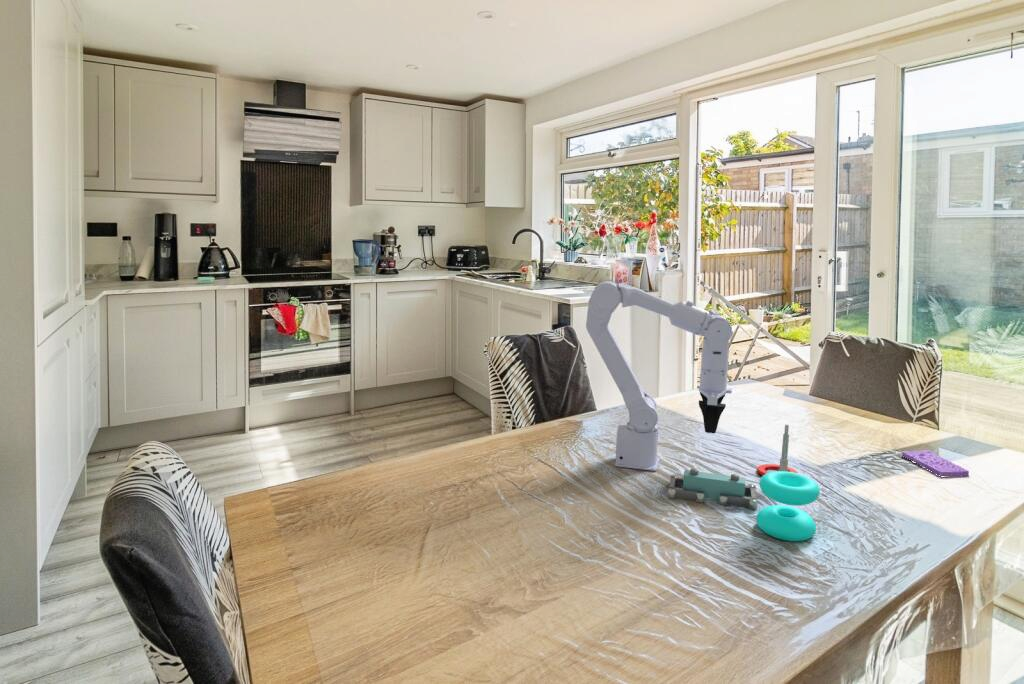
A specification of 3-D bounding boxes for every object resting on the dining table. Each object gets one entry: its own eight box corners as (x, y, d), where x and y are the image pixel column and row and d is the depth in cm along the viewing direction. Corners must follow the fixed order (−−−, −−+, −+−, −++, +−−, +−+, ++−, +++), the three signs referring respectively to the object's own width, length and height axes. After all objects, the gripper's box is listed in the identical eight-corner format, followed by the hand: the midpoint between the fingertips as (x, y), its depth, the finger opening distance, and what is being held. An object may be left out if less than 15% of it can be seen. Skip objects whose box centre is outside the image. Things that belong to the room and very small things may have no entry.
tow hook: (753, 467, 143) (763, 482, 134) (757, 413, 142) (767, 424, 132) (791, 470, 142) (803, 484, 133) (795, 415, 140) (808, 427, 131)
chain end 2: (718, 505, 123) (719, 497, 123) (718, 488, 131) (719, 480, 131) (757, 510, 121) (758, 502, 121) (754, 492, 129) (755, 484, 129)
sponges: (927, 457, 150) (928, 450, 149) (969, 478, 137) (970, 470, 137) (900, 458, 149) (901, 450, 149) (939, 479, 137) (940, 471, 137)
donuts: (802, 468, 117) (832, 490, 107) (797, 517, 118) (826, 543, 109) (750, 469, 116) (775, 491, 106) (746, 518, 118) (771, 545, 108)
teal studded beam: (682, 495, 128) (683, 471, 127) (683, 489, 131) (685, 466, 130) (743, 504, 124) (745, 479, 123) (743, 498, 127) (745, 474, 126)
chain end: (667, 498, 126) (667, 490, 126) (670, 482, 134) (670, 474, 134) (704, 503, 124) (704, 495, 124) (705, 486, 132) (705, 478, 132)
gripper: (733, 378, 129) (729, 439, 132) (732, 363, 143) (728, 419, 145) (698, 375, 132) (695, 436, 134) (700, 361, 145) (697, 416, 148)
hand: (710, 427), depth 140 cm, fingers open, 7 cm apart
